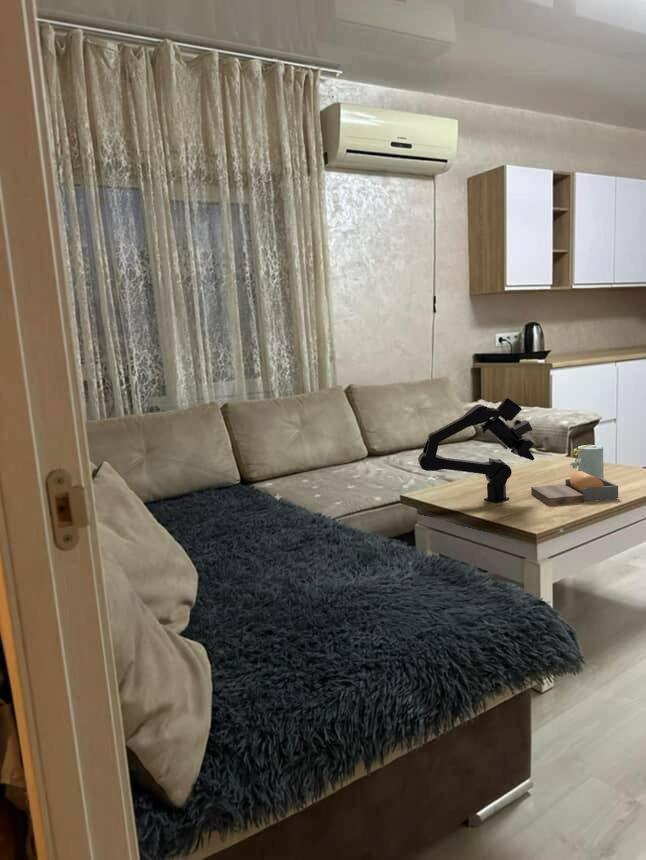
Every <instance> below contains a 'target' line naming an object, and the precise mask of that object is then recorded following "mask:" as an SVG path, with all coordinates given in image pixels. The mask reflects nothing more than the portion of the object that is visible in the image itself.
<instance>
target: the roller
mask: <svg viewBox="0 0 646 860" xmlns="http://www.w3.org/2000/svg"><path fill="white" fill-rule="evenodd" d="M569 479H570V484H571V486H572V488H574V489H575V490H577V491H579V492H581V493H582V494H583V488H592V487H604V485H603V482H602V481H601V480H600V479H598V478H596V477H594V476H592V475H589V474H587V473H585V472H583V471H575V472H574V473H572V475H571V476H570V478H569Z"/></svg>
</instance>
